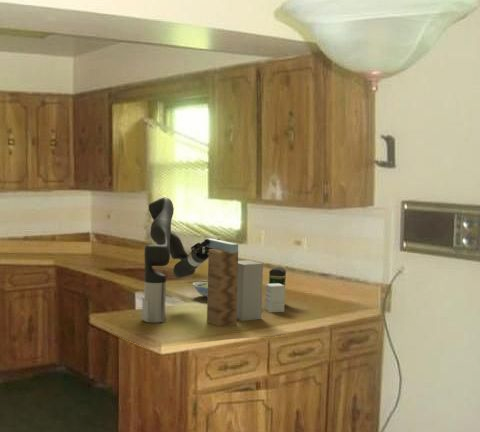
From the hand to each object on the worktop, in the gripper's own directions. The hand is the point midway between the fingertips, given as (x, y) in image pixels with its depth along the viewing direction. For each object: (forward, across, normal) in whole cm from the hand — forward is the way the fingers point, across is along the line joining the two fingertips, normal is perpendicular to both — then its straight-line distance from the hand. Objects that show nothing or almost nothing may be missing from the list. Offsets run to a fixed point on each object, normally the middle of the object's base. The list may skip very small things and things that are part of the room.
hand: (213, 240), depth 323 cm
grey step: (-16, +16, +31) cm, 39 cm away
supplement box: (-22, +36, +28) cm, 51 cm away
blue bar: (+4, 0, +6) cm, 7 cm away
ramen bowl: (-57, +26, +8) cm, 63 cm away
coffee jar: (-33, +46, +22) cm, 60 cm away
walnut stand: (-10, 0, +35) cm, 36 cm away
